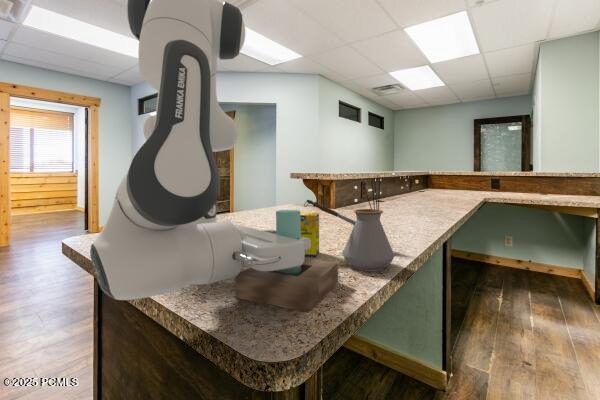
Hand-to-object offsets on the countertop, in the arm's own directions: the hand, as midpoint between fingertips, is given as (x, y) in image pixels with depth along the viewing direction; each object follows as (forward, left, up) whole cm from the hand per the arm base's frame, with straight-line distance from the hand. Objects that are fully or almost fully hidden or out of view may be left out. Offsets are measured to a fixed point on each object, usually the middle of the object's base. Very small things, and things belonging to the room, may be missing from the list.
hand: (291, 238), depth 56 cm
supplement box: (-7, +24, -10) cm, 27 cm away
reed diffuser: (+8, +36, -10) cm, 38 cm away
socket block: (0, 0, -10) cm, 10 cm away
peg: (0, 0, -8) cm, 8 cm away
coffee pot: (+5, +20, -10) cm, 23 cm away
